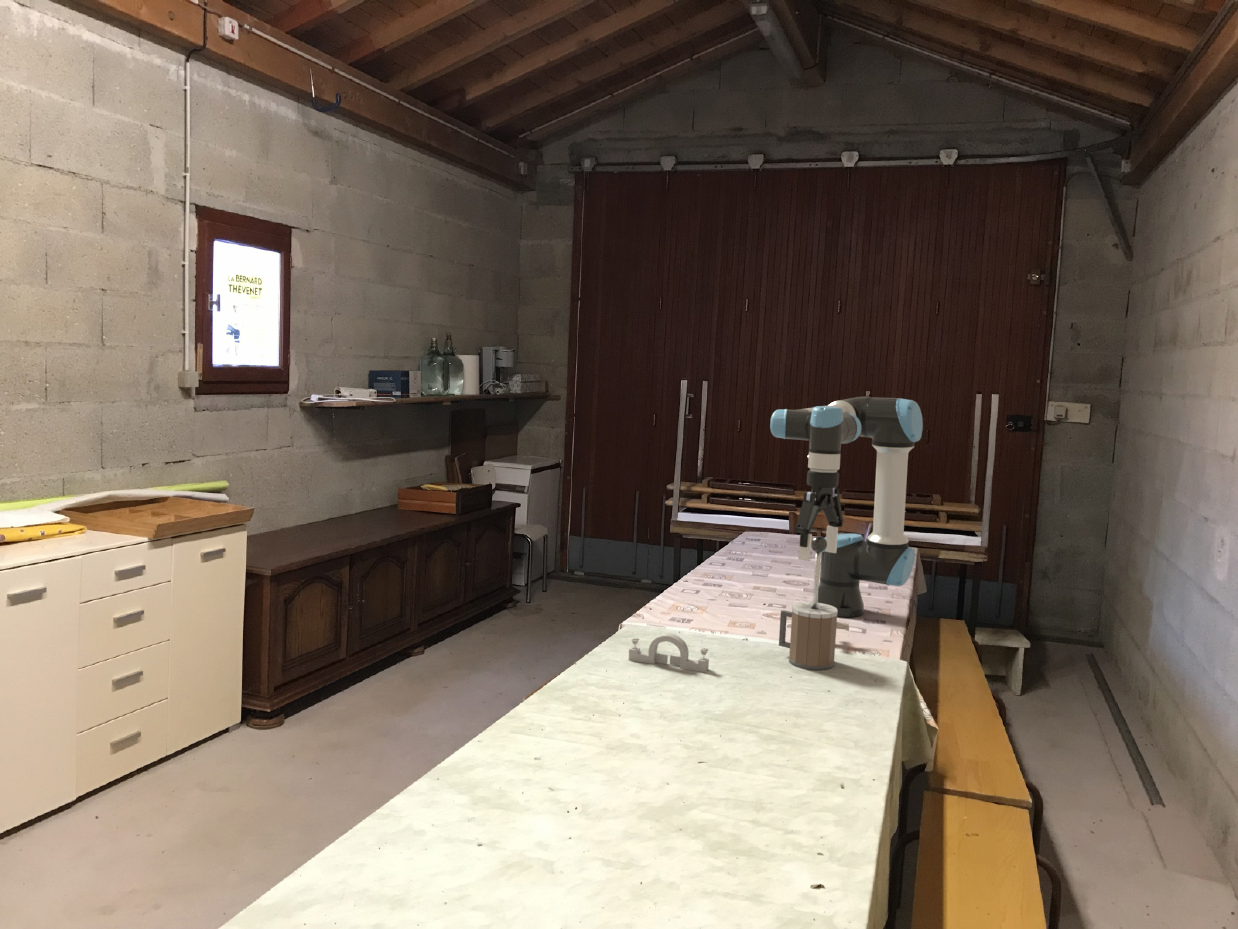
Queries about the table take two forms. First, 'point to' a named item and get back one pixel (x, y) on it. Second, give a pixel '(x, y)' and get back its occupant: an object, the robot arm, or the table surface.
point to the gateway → (674, 660)
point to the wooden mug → (810, 635)
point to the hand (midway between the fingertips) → (817, 556)
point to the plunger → (817, 565)
